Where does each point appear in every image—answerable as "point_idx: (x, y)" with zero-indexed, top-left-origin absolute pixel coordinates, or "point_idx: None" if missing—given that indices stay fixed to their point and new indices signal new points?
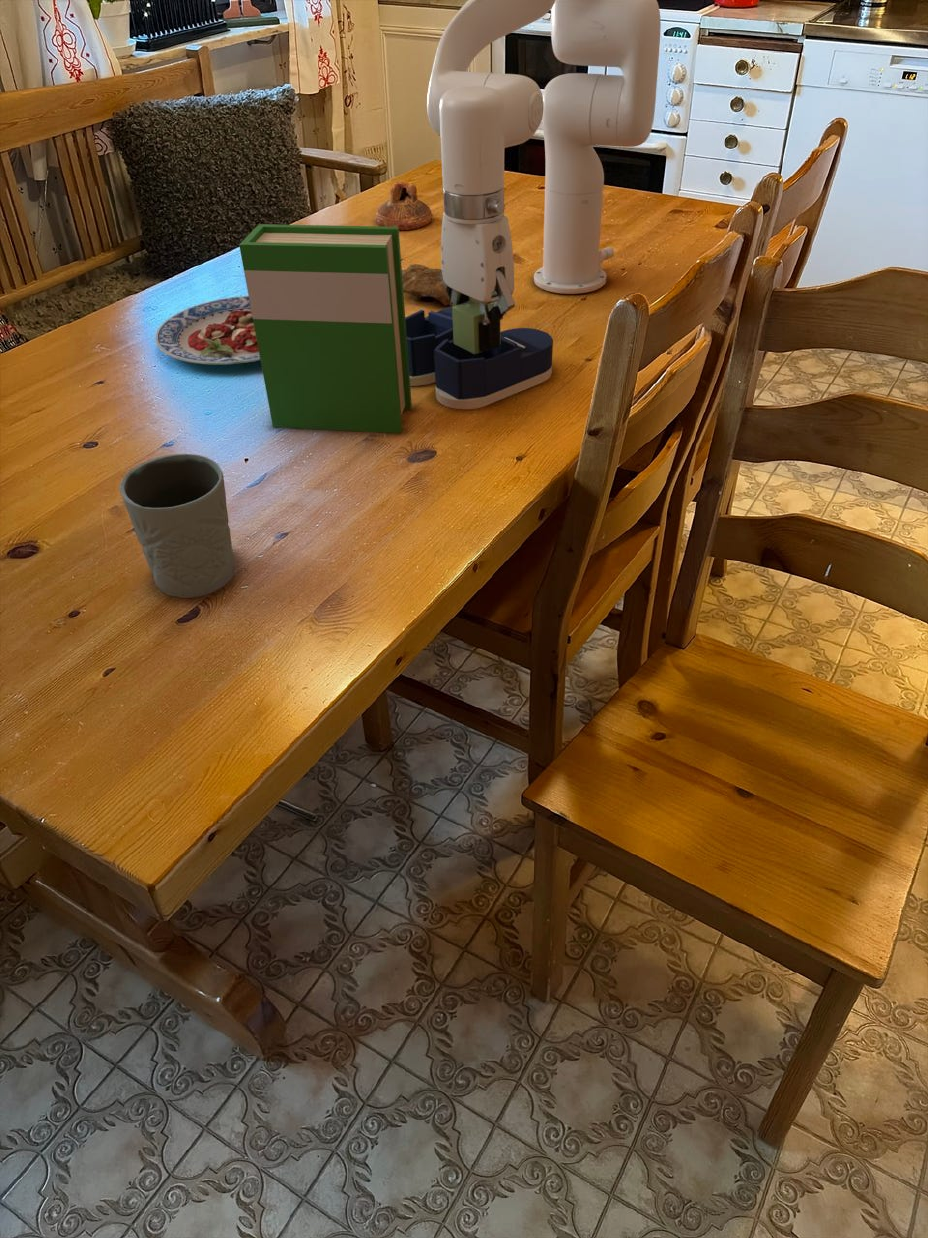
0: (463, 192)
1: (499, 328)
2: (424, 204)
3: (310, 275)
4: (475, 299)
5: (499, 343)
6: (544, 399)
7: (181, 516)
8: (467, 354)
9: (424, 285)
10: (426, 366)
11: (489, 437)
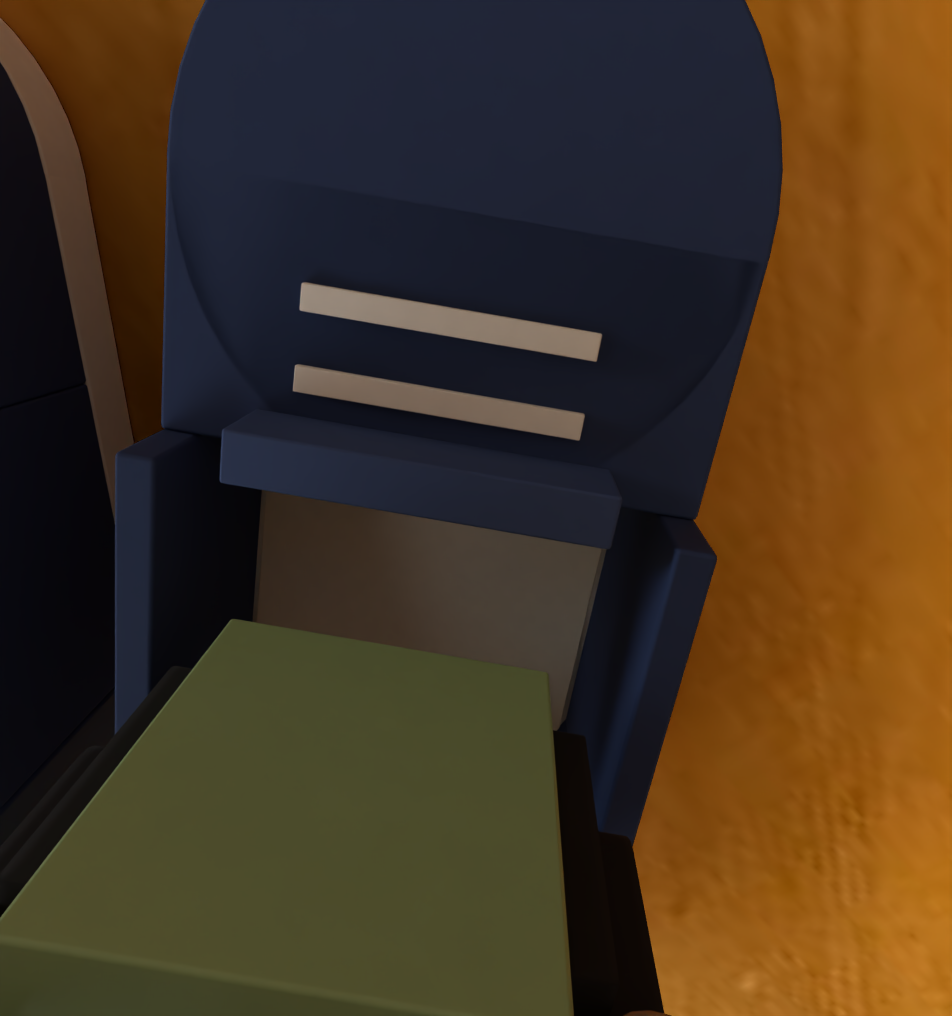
0: None
1: (602, 866)
2: None
3: None
4: (16, 1005)
5: (584, 746)
6: (832, 435)
7: None
8: (216, 580)
9: None
10: (98, 742)
11: (796, 893)
